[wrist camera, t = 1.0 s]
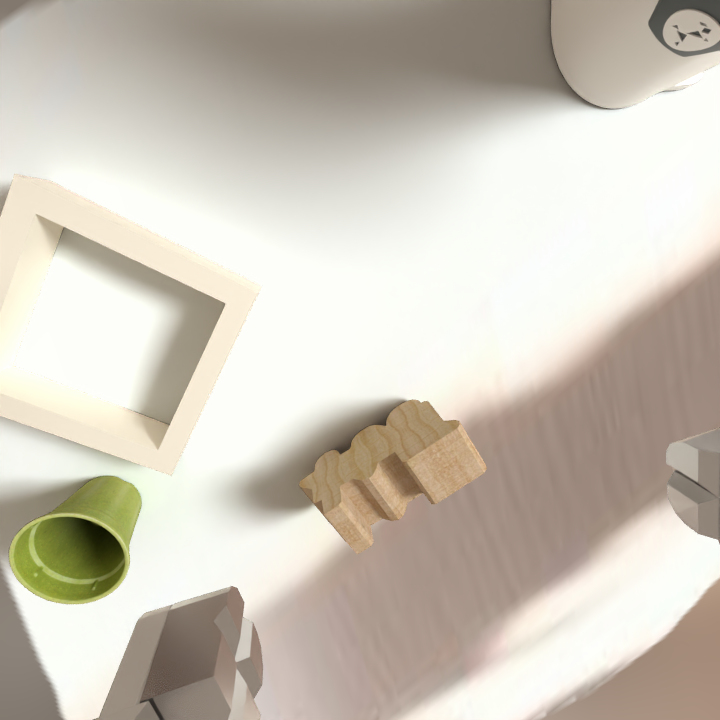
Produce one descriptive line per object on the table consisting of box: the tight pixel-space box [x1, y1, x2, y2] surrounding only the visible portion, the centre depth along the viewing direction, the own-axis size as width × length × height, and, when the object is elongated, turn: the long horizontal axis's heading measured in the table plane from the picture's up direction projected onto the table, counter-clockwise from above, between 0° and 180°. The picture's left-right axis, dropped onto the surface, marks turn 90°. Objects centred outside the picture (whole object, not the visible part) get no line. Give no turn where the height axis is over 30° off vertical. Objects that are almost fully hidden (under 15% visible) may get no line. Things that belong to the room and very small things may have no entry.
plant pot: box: [9, 476, 142, 604], centre depth 41 cm, size 9×9×9 cm
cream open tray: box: [0, 174, 262, 475], centre depth 38 cm, size 19×19×5 cm
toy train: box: [299, 400, 487, 554], centre depth 43 cm, size 6×17×10 cm, turn 122°
